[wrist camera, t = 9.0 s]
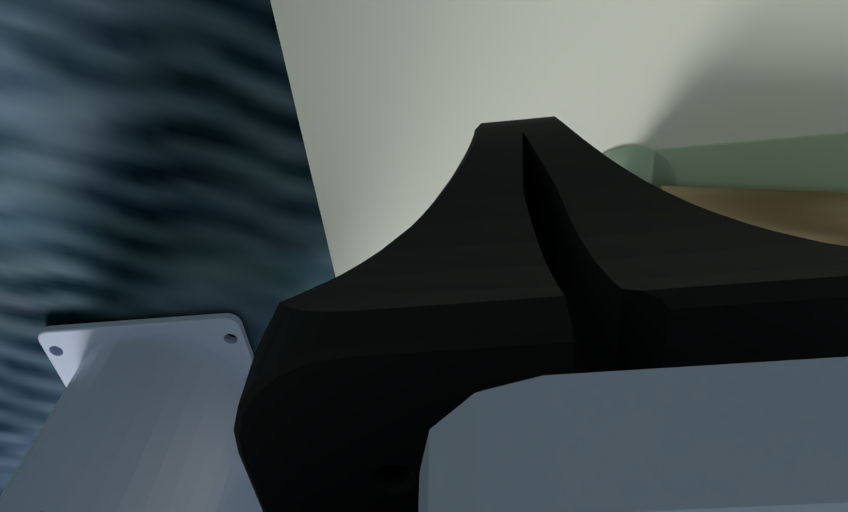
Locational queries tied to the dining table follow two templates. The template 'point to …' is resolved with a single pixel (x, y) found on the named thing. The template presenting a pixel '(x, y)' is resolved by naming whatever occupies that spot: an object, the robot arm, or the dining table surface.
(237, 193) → the dining table surface
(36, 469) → the robot arm
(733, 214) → the folding fence panel
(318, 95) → the card
